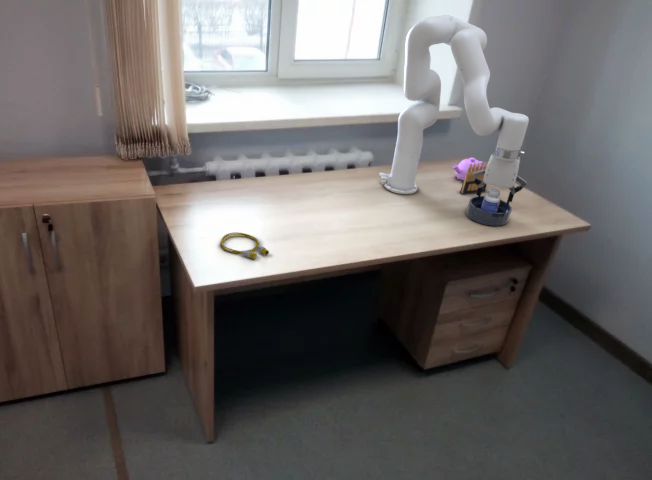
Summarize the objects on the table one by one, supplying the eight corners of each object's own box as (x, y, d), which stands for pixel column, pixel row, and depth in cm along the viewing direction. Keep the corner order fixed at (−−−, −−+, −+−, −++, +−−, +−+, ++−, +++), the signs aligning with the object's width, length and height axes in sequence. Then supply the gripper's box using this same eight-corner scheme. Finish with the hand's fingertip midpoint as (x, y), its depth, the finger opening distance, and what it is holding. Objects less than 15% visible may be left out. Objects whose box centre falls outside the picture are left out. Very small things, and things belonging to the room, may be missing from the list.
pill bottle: (495, 220, 184) (504, 195, 178) (479, 218, 184) (487, 192, 179) (493, 214, 188) (501, 188, 183) (478, 212, 189) (485, 186, 183)
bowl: (463, 220, 183) (467, 207, 180) (468, 205, 194) (471, 192, 191) (506, 230, 179) (510, 217, 176) (508, 214, 190) (512, 201, 187)
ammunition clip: (462, 194, 202) (470, 164, 196) (459, 192, 204) (467, 162, 197) (485, 191, 206) (493, 162, 199) (481, 189, 207) (490, 160, 201)
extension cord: (230, 263, 150) (230, 257, 149) (216, 237, 163) (216, 232, 162) (270, 258, 154) (270, 252, 153) (253, 233, 167) (253, 227, 165)
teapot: (488, 184, 213) (495, 162, 207) (456, 186, 208) (462, 164, 203) (473, 174, 221) (479, 152, 216) (442, 176, 217) (447, 154, 211)
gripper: (535, 153, 173) (519, 201, 183) (480, 145, 179) (468, 191, 188) (534, 160, 168) (519, 209, 177) (478, 151, 173) (466, 199, 182)
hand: (493, 200), depth 182 cm, fingers open, 9 cm apart
